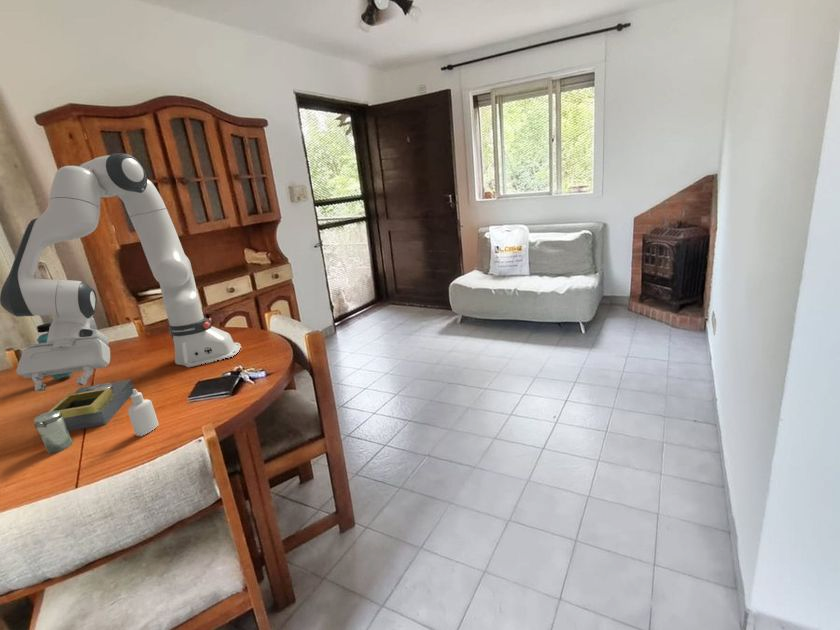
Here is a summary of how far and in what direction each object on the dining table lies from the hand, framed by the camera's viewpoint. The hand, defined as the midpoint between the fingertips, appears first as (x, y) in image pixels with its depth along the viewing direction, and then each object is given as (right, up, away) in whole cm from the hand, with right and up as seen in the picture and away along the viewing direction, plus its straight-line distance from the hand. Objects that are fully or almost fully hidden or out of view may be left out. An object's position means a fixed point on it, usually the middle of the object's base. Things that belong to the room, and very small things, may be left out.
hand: (60, 387), depth 110 cm
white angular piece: (-33, +2, +56) cm, 65 cm away
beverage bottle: (-31, -3, +38) cm, 49 cm away
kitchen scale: (-1, -9, +12) cm, 15 cm away
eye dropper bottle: (+23, -11, 0) cm, 26 cm away
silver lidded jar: (+4, -14, -4) cm, 15 cm away
